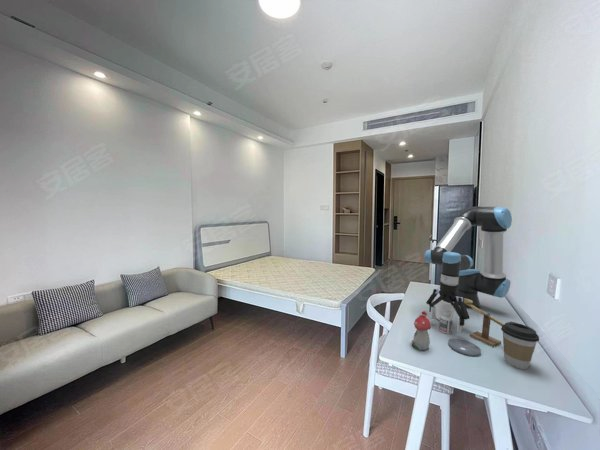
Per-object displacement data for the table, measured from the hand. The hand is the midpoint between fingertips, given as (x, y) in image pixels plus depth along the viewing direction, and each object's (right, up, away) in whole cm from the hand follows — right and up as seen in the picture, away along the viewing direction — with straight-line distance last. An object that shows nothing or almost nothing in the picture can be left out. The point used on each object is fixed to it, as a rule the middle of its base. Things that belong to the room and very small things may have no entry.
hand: (444, 324), depth 121 cm
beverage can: (+7, -3, +13) cm, 15 cm away
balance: (+15, -4, -7) cm, 17 cm away
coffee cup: (+14, -6, -24) cm, 28 cm away
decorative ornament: (-20, -4, -14) cm, 24 cm away
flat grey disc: (0, -4, -14) cm, 15 cm away
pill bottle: (0, -4, 0) cm, 4 cm away
